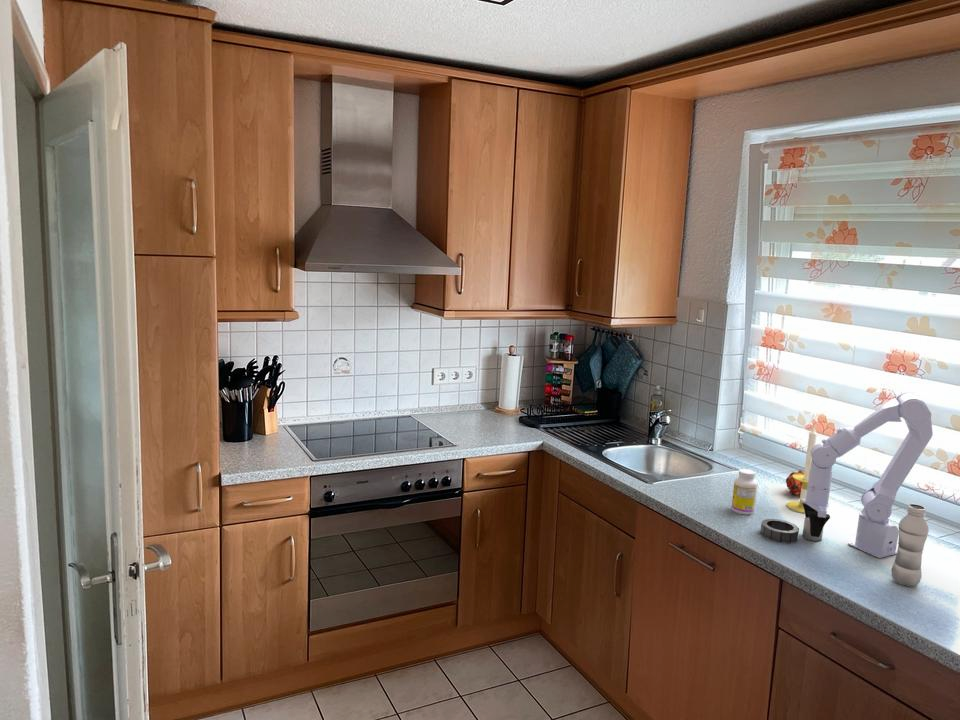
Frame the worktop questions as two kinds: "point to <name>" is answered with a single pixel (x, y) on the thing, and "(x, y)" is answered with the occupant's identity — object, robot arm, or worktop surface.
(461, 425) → the worktop surface
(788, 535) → the segmented grey ring
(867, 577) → the worktop surface
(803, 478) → the candle
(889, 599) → the worktop surface
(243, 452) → the worktop surface
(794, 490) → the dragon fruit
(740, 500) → the supplement bottle
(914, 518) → the plastic bottle
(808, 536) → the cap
